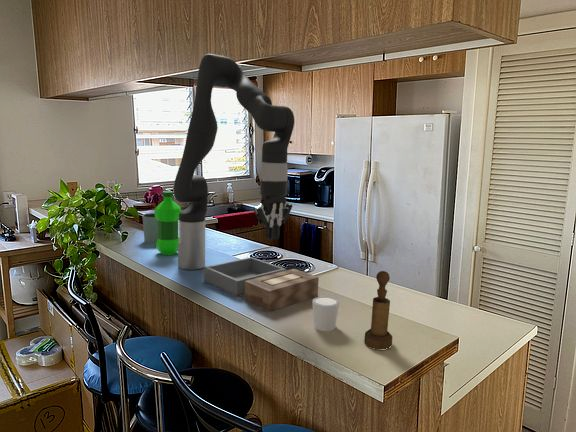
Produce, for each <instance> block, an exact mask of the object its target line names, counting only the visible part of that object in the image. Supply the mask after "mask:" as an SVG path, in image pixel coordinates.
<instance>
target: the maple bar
mask: <svg viewBox="0 0 576 432" xmlns="http://www.w3.org/2000/svg"><path fill="white" fill-rule="evenodd" d="M299 278H301V277H300V276H298V275H295V274H289V275H285V276H281V277H278V278H274V279H270V280H266V281H263V282H264V283H266V284H269V285H271V286H274V285H278V284H281V283H285V282H289V281H292V280H296V279H299Z"/></svg>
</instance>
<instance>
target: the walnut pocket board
mask: <svg viewBox="0 0 576 432" xmlns="http://www.w3.org/2000/svg"><path fill="white" fill-rule="evenodd" d="M289 274H295V275H298V276H300V277H301V278H299V279H296V280H292V281H289V282H285V283H281V284H278V285H274V286H271V285H269V284H266V283H264V282H263V281H266V280H270V279H274V278H278V277H281V276H285V275H289ZM319 281H320V280H319V276H316V275H314V274H311V273H308V272H304V271H302V270H300V269H296V268H292V269H288V270H287V269H286V271H282V272H278V273H274V274H271V275H267V276H263V277H259V278H255V279H251V280H247V281H245V295H244V297H243V298H244V302H247V303H249V304H251V305H254V306H256V307H258V308H259V309H262V310H264V311H266V312H273V311H275V310H279V309H282V308H285V307H288V306H292V305H294V304H297V303H300V302H303V301H307V300H309V299H312V298H313V299H314V298H317V297H319V296H318V295H319Z"/></svg>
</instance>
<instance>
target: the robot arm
mask: <svg viewBox="0 0 576 432" xmlns="http://www.w3.org/2000/svg"><path fill="white" fill-rule="evenodd" d="M214 87H219V88H220V87H221V88H228V89H231V90H233V91H235V94H236V98H237V101H238V103H239V104H240V105H241V107H243V108H244V109H245V110H246V111H247V112H248V113H250V115H251V117H252V119H253V120H254V122H255V124H256V126H257V127H258V128H259V129H260V130H262V131H264V132H271V133H273V132H274V135H273V137H272V139H269V140H266V141H264V142H263V144H262V148H261V149H262V150H261V167H260V192H259V193H260V196H261V199H260V203H259V204H258V206H253V208H252V211H253V212H254V215H255V217H256V219H257V222H258V223H259V225H261V226H264V227H265V235H264V236H265V238H266V240H267V241H273V240H278V239H279V238H280V235H281V226H282V224H285V223H286V222H287V220H288V218H289V216H290V213H291V211H292V209H293V204H290V203H288V202H287V199H286V196H287V195H288V173H289V172H288V169H289V168H288V148H289V145H290V142H291V137H292V134H293V131H294V127H295V116H294V112H293V111H292V109H291V108H290V107H289V106H285V105H276V104H275V105H274V104H273V103H272V99H271V98H270V97H269V95H268V94H266V93H265V92H264V91H263V90H261V89H260V88H259V87H258V86H257V85H255V83H253V82H252V81H251V80H250V78H249V77H248V76H247V75H246V73H245V72H244V70H242V69H241V67H240V66H239V64H238V63H237V62H236V61H235V60H234V59H233V58H231V57H228V56H224V55H220V54H213V53H206V54H204V55H203V57H202V58H201V60H200V63H199V68H198V73H197V80H196V88H195V96H194V103H193V106H192V112H191V116H190V120H189V125H188V127H187V129H188V130H187V133H186V140H185V144H184V149H183V154H182V157H181V160H180V164H179V167H178V171H177V172H176V176H175V180H174V184H173V197H174V198H175V200H176V201H177V202H179V203H190V205H188V207H186V208H185V209H183V210H181V212H180V213H179V220H178V237H179V242H178V251H177V268H178V269H183V270H190V271H192V270H193V271H194V270H200V269H204V267H206V216H207V211H208V199H209V197H208V196H209V187H208V183H207V179H206V178H205V177H204V176H202V175H195V172H196V169H197V168H198V166H199V165H200V164H201V162H202V161H203V160H204V159H205V158H206V156H207V155H209V153H210V152H211V150H212V149H213V148H214V145H215V141H216V136H217V133H218V128H219V127H218V122H217V118H216V116H215V113H214V112H215V111H214V109H213V105H212V95H213V94H212V92H213V89H214Z"/></svg>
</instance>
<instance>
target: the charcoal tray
mask: <svg viewBox="0 0 576 432" xmlns="http://www.w3.org/2000/svg"><path fill="white" fill-rule="evenodd" d="M286 270H287V269H286V268H284V267H282V266H278V265H275V264H272V263H270V262H267V261H265V260H261V259H258V258H255V257H252V256H251V257H246V258H245V257H244V258H241V259H237V260H232V261H227V262H223V263H222V262H221V263H217V264H213V265H206V266H205V267H204V268H203V282H204V283H206V284H208V285H210V286H213V287H215V288H217V289H219V290H221V291H223V292H225V293H227V294H229V295H231V296H234V297H236V298H238V297H242V296H245V281H247V280H251V279H255V278H259V277H263V276H267V275H271V274H274V273H278V272H282V271H286Z"/></svg>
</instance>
